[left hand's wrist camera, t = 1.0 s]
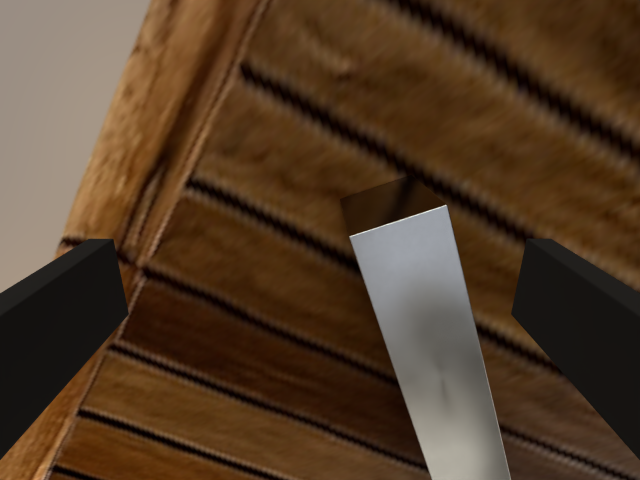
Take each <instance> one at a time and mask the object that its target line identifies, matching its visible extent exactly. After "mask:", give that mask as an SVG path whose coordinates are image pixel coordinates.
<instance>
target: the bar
mask: <svg viewBox="0 0 640 480" xmlns="http://www.w3.org/2000/svg"><path fill="white" fill-rule="evenodd" d="M340 202H341V206H342V210H343V214H344V218H345V223H346V227H347V231H348V235H349V239H350V242H351V245H352V248H353V251H354V254H355V256H356V259H357V262H358V265H359V268H360V271H361V274H362V277H363V280H364V283H365V286H366V289H367V292H368V295H369V298H370V301H371V303H372V306H373V309H374V312H375V315H376V318H377V321H378V324H379V327H380V330H381V333H382V336H383V339H384V342H385V345H386V347H387V350H388V353H389V356H390V359H391V362H392V365H393V368H394V371H395V374H396V377H397V380H398V383H399V386H400V389H401V392H402V394H403V397H404V400H405V403H406V406H407V409H408V412H409V415H410V418H411V421H412V424H413V427H414V430H415V433H416V436H417V439H418V441H419V444H420V447H421V450H422V453H423V456H424V459H425V462H426V465H427V468H428V471H429V474H430V477H431V480H511V477H510V473H509V469H508V464H507V460H506V456H505V451H504V447H503V443H502V438H501V434H500V430H499V425H498V421H497V417H496V412H495V408H494V404H493V400H492V395H491V391H490V387H489V382H488V378H487V374H486V369H485V365H484V361H483V356H482V352H481V348H480V343H479V339H478V335H477V330H476V326H475V322H474V317H473V313H472V309H471V305H470V300H469V296H468V292H467V287H466V283H465V279H464V274H463V270H462V266H461V261H460V257H459V253H458V248H457V244H456V240H455V235H454V231H453V227H452V222H451V218H450V214H449V210H448V205H447V204H446V203H444V202H443V201H442V200H441V199H440V198H438V197H437V196H436V195H435V194H434V193H432V192H431V191H430V190H429V189H428V188H426V187H425V186H424V185H423V184H421V183H420V182H419V181H418V180H417V179H415V178H414V177H413V176H412V175H410V176H407V177H404V178H401V179H398V180H395V181H392V182H389V183H386V184H383V185H380V186H377V187H374V188H371V189H369V190H366V191H363V192H360V193H357V194H354V195H351V196H348V197H345V198H342V199H340Z"/></svg>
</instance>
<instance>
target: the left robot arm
mask: <svg viewBox="0 0 640 480" xmlns="http://www.w3.org/2000/svg"><path fill="white" fill-rule="evenodd" d="M128 314H129V313H128V308H127V303H126V298H125V293H124V289H123V284H122V279H121V274H120V269H119V265H118V260H117V255H116V250H115V245H114V240H113V239H88V240H86V241H85V242H83V243H82V244H80V245H78V246H77V247H75V248H73V249H72V250H70V251H68V252H67V253H65V254H64V255H62V256H60V257H59V258H57V259H55V260H54V261H52V262H51V263H49V264H47V265H46V266H44V267H43V268H41V269H39V270H38V271H36V272H34V273H33V274H31V275H29V276H28V277H26V278H25V279H23V280H21V281H20V282H18V283H16V284H15V285H13V286H12V287H10V288H8V289H7V290H5V291H3V292H2V293H0V460H1V459H2V457H3V456H4V455H5V454H6V453H7V452H8V451H9V449H10V448H11V447H12V446H13V445H14V444H15V443H16V442H17V440H18V439H19V438H20V437H21V436H22V435H23V434H24V432H25V431H26V430H27V429H28V428H29V427H30V426H31V425H32V423H33V422H34V421H35V420H36V419H37V418H38V417H39V415H40V414H41V413H42V412H43V411H44V410H45V409H46V407H47V406H48V405H49V404H50V403H51V402H52V401H53V400H54V398H55V397H56V396H57V395H58V394H59V393H60V392H61V390H62V389H63V388H64V387H65V386H66V385H67V384H68V383H69V381H70V380H71V379H72V378H73V377H74V376H75V375H76V373H77V372H78V371H79V370H80V369H81V368H82V367H83V365H84V364H85V363H86V362H87V361H88V360H89V359H90V358H91V356H92V355H93V354H94V353H95V352H96V351H97V350H98V348H99V347H100V346H101V345H102V344H103V343H104V342H105V341H106V339H107V338H108V337H109V336H110V335H111V334H112V333H113V331H114V330H115V329H116V328H117V327H118V326H119V325H120V323H121V322H122V321H123V320H124V319H125V318H126V317H127V316H128ZM511 314H512V316H513V317H514V318H515V319H516V320H517V321H518V322H519V323H520V325H521V326H522V327H523V328H524V329H525V330H526V331H527V333H528V334H529V335H530V336H531V337H532V338H533V339H534V341H535V342H536V343H537V344H538V345H539V346H540V347H541V348H542V350H543V351H544V352H545V353H546V354H547V355H548V356H549V358H550V359H551V360H552V361H553V362H554V363H555V364H556V365H557V367H558V368H559V369H560V370H561V371H562V372H563V373H564V375H565V376H566V377H567V378H568V379H569V380H570V381H571V383H572V384H573V385H574V386H575V387H576V388H577V389H578V390H579V392H580V393H581V394H582V395H583V396H584V397H585V398H586V400H587V401H588V402H589V403H590V404H591V405H592V406H593V407H594V409H595V410H596V411H597V412H598V413H599V414H600V415H601V417H602V418H603V419H604V420H605V421H606V422H607V423H608V425H609V426H610V427H611V428H612V429H613V430H614V431H615V432H616V434H617V435H618V436H619V437H620V438H621V439H622V440H623V442H624V443H625V444H626V445H627V446H628V447H629V448H630V449H631V451H632V452H633V453H634V454H635V455H636V456H637V457H638V459H639V460H640V293H638V292H637V291H635V290H633V289H632V288H630V287H629V286H627V285H625V284H624V283H622V282H620V281H619V280H617V279H615V278H614V277H612V276H611V275H609V274H607V273H606V272H604V271H602V270H601V269H599V268H598V267H596V266H594V265H593V264H591V263H589V262H588V261H586V260H585V259H583V258H581V257H580V256H578V255H576V254H575V253H573V252H572V251H570V250H568V249H567V248H565V247H563V246H562V245H560V244H558V243H557V242H555V241H554V240H552V239H527V240H526V245H525V250H524V255H523V260H522V265H521V269H520V274H519V279H518V284H517V289H516V293H515V298H514V303H513V308H512V313H511Z"/></svg>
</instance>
